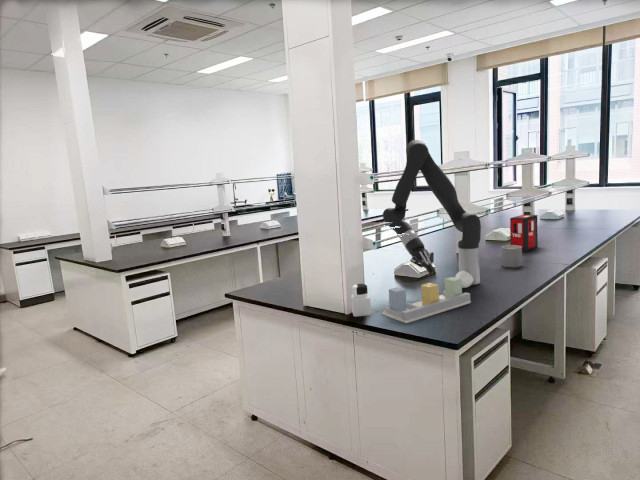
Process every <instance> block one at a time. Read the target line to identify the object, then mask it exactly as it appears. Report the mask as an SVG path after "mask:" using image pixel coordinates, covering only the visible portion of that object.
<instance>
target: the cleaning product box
mask: <svg viewBox="0 0 640 480" xmlns="http://www.w3.org/2000/svg"><path fill="white" fill-rule="evenodd" d="M509 222H510V223H509V225H510V227H509V229H510V231H509V232H510V233H509V235H510V237H509V238H510V240H509V241H510V245H517V246H521V247H522V252H527V251H529V250H533V249H535V248H537V247H538V214H520V215H516V216H513V217H509Z"/></svg>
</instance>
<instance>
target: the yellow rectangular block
mask: <svg viewBox="0 0 640 480" xmlns="http://www.w3.org/2000/svg"><path fill="white" fill-rule="evenodd" d="M420 286H421V287H420V289H421V301H422V306H423V305H426V304H429V303H433V302H436V301H439V296H440V291H439V290H440V288H439V287H440V286H439V284H436V283H433V282H432V283H431V282H427V283H424V284H421V285H420Z"/></svg>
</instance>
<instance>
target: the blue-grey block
mask: <svg viewBox="0 0 640 480" xmlns="http://www.w3.org/2000/svg"><path fill="white" fill-rule="evenodd" d="M388 301H389V302H388V303H389V304H388V305H389V308H391V309H394V310H397V311H400V312H402V311H406V310H407V303H408V302H407V289H406V288H402V287H398V286H396V287H392V288H389V289H388ZM406 302H407V303H406Z"/></svg>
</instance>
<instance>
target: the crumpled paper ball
mask: <svg viewBox="0 0 640 480" xmlns="http://www.w3.org/2000/svg"><path fill="white" fill-rule="evenodd" d="M454 277H456V278H461V279H462V289H466V288H467V289H468V288H469V287H470V286H472V285H471V284H472V282H473V277H472V276H471V275H470V274H469V273H468V272H466V271H461V272H459V271H458V272H457V273H456V274H455V276H454Z"/></svg>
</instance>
